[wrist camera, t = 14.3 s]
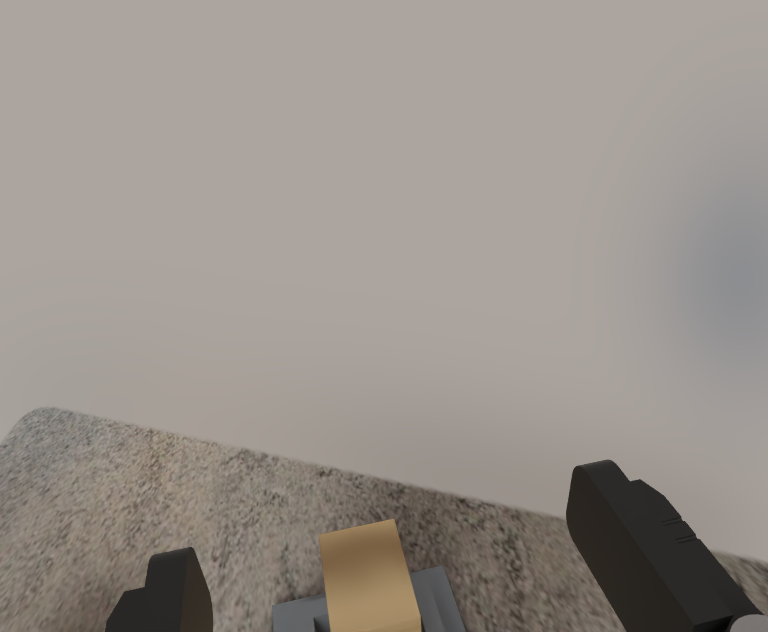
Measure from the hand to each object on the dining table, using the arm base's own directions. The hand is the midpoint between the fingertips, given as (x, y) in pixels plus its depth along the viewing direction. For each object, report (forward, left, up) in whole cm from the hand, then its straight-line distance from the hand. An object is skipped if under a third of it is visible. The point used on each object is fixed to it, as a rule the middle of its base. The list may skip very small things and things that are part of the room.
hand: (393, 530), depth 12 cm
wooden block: (-8, +8, -29) cm, 31 cm away
